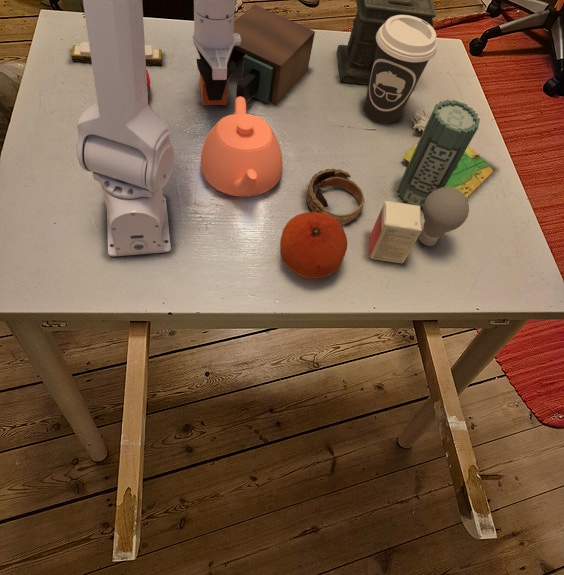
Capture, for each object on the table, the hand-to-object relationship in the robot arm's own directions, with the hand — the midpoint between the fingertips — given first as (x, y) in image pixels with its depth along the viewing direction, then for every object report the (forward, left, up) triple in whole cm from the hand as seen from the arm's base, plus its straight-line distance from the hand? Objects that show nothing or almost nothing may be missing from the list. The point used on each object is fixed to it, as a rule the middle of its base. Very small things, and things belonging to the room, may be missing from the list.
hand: (213, 89), depth 84 cm
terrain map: (-17, -36, -2) cm, 40 cm away
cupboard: (+7, -10, -2) cm, 12 cm away
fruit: (-33, -9, -2) cm, 34 cm away
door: (-2, -6, -2) cm, 6 cm away
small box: (-33, -21, -2) cm, 39 cm away
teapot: (-17, -2, -2) cm, 18 cm away
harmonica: (+11, +15, -2) cm, 19 cm away
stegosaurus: (-7, -33, 0) cm, 34 cm away
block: (0, 0, -1) cm, 1 cm away
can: (-23, -29, -2) cm, 37 cm away
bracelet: (-24, -15, -2) cm, 28 cm away
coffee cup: (-4, -29, -2) cm, 29 cm away
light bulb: (-32, -28, -2) cm, 42 cm away
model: (+7, -31, -2) cm, 32 cm away
